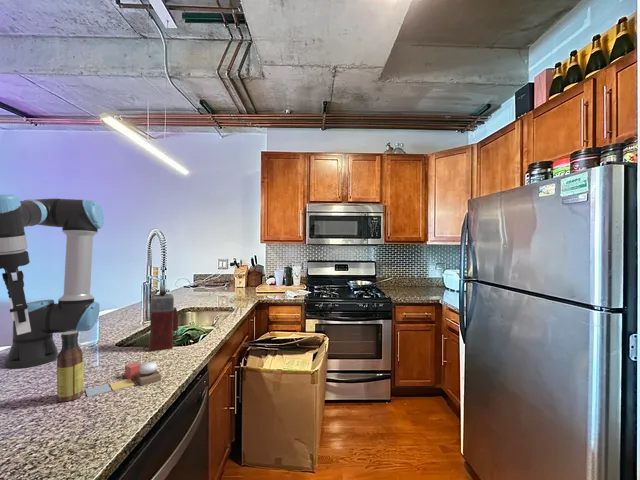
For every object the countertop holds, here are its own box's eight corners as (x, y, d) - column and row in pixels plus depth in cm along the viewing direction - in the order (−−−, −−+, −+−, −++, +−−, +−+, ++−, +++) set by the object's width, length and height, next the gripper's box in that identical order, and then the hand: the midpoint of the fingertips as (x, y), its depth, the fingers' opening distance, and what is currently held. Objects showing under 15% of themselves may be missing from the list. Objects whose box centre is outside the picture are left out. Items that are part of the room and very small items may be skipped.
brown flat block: (135, 378, 108) (135, 372, 108) (154, 373, 112) (154, 367, 112) (141, 386, 102) (141, 379, 102) (160, 380, 106) (160, 375, 106)
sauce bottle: (80, 390, 98) (82, 327, 98) (86, 397, 94) (88, 331, 94) (53, 398, 93) (55, 332, 93) (58, 405, 89) (60, 336, 89)
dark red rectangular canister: (178, 347, 140) (179, 285, 140) (149, 351, 134) (151, 287, 135) (176, 342, 148) (178, 283, 148) (149, 345, 142) (151, 284, 143)
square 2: (109, 384, 103) (109, 383, 103) (130, 379, 107) (130, 378, 107) (112, 390, 98) (112, 390, 98) (134, 385, 102) (134, 384, 102)
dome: (137, 370, 107) (137, 364, 107) (154, 366, 111) (154, 360, 111) (141, 375, 103) (141, 368, 103) (158, 371, 107) (158, 364, 107)
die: (124, 376, 109) (125, 365, 109) (136, 372, 112) (136, 361, 113) (130, 379, 107) (130, 367, 107) (142, 375, 110) (142, 364, 110)
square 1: (85, 390, 98) (85, 389, 98) (107, 384, 102) (107, 384, 102) (87, 397, 94) (87, 396, 94) (111, 391, 98) (111, 390, 98)
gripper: (-13, 248, 89) (0, 318, 93) (-10, 260, 73) (5, 344, 76) (23, 245, 95) (33, 310, 98) (33, 255, 78) (45, 334, 82)
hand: (21, 325), depth 87 cm, fingers open, 13 cm apart
